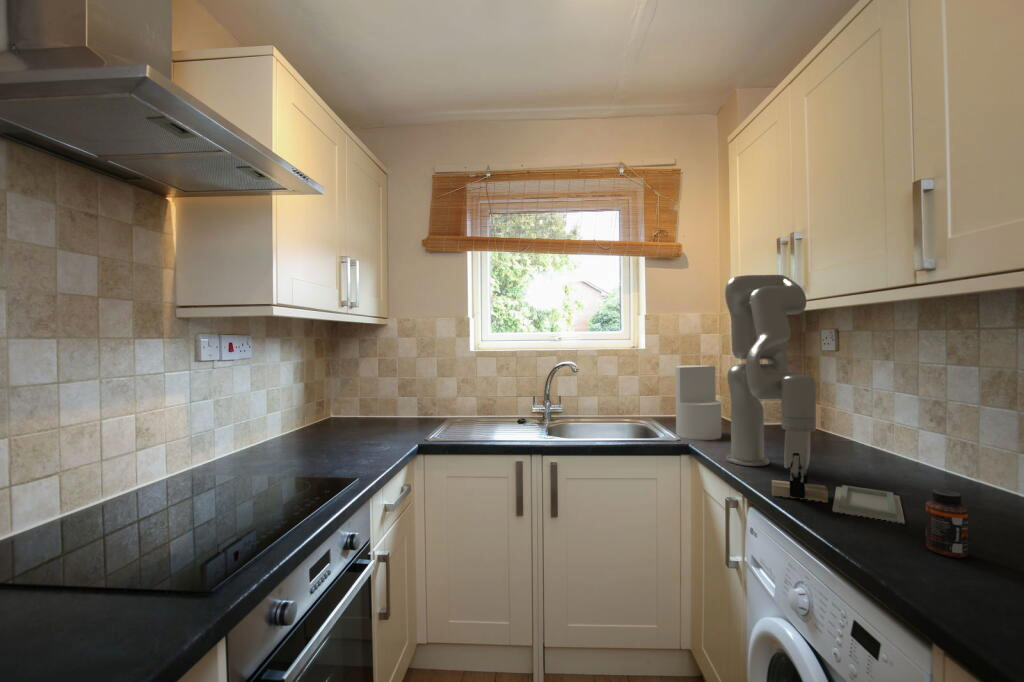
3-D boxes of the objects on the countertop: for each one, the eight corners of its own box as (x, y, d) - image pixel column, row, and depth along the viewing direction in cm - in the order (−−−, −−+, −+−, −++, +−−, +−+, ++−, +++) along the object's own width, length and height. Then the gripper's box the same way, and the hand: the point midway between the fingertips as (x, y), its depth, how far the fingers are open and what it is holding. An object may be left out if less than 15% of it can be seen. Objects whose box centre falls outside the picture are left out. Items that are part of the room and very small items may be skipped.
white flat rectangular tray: (836, 488, 127) (836, 482, 127) (899, 497, 119) (899, 491, 119) (832, 511, 111) (832, 505, 110) (904, 524, 103) (904, 517, 103)
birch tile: (771, 491, 126) (771, 479, 126) (825, 497, 121) (825, 486, 121) (772, 496, 122) (772, 485, 122) (828, 504, 116) (827, 491, 116)
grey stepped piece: (667, 432, 200) (666, 366, 199) (701, 429, 205) (701, 364, 204) (694, 441, 183) (694, 369, 183) (731, 437, 188) (730, 367, 188)
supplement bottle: (971, 562, 86) (971, 500, 86) (927, 553, 89) (927, 493, 89) (965, 550, 90) (965, 491, 90) (924, 542, 94) (924, 485, 94)
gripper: (785, 416, 130) (786, 482, 131) (776, 427, 116) (777, 500, 117) (818, 419, 126) (818, 487, 126) (812, 430, 112) (813, 506, 112)
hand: (798, 492), depth 121 cm, fingers open, 5 cm apart
